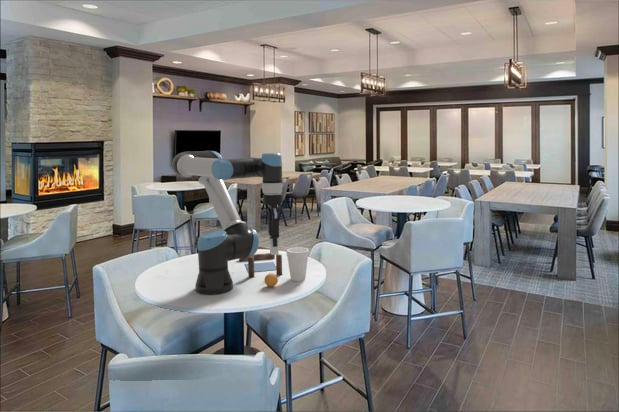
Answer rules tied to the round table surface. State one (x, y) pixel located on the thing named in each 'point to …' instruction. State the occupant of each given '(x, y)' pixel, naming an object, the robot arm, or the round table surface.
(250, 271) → the post left
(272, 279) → the ball
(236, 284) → the round table surface
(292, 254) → the foam cup
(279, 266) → the post right
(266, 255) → the bar
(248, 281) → the round table surface
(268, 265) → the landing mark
